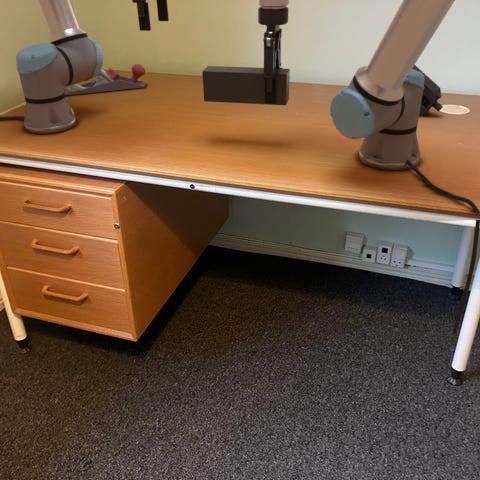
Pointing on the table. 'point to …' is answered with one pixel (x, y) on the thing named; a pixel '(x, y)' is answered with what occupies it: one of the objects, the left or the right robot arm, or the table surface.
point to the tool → (429, 94)
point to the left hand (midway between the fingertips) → (154, 25)
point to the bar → (242, 85)
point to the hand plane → (109, 82)
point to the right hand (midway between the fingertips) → (272, 99)
